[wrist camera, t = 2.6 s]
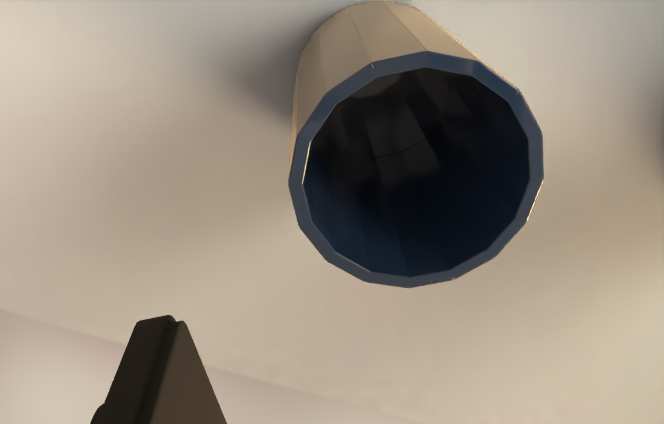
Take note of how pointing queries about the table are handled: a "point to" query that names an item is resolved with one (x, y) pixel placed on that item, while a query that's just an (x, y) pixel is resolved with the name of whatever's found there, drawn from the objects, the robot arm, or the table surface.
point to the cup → (407, 149)
